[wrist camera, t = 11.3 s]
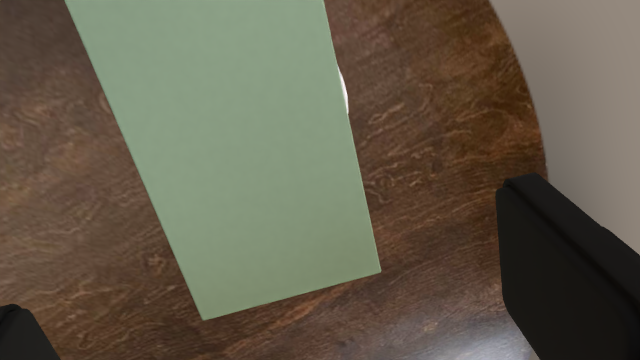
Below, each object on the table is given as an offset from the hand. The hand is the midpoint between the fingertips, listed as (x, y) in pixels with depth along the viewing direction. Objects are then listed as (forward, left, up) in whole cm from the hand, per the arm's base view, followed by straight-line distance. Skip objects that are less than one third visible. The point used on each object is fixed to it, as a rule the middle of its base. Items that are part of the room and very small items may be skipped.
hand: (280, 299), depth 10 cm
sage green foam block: (0, -1, -11) cm, 11 cm away
